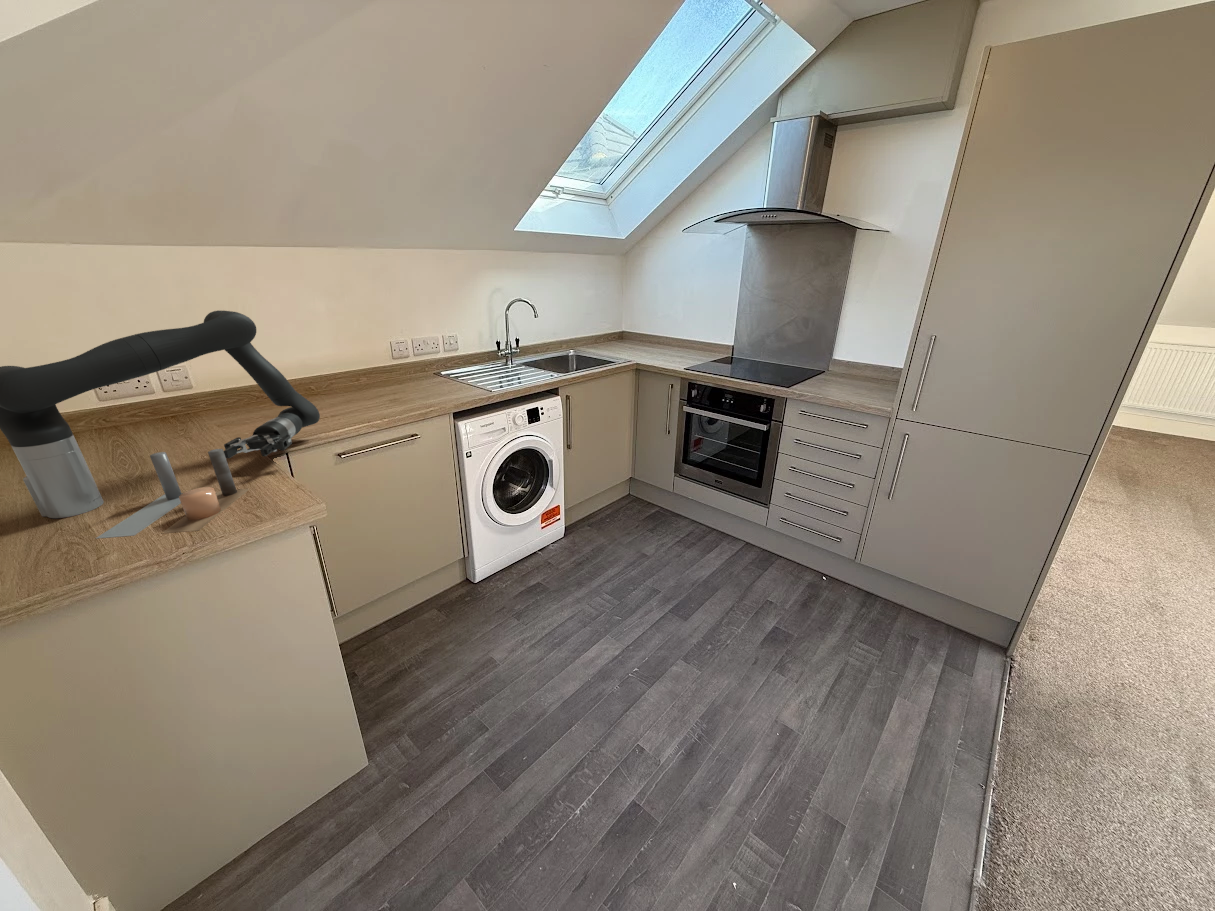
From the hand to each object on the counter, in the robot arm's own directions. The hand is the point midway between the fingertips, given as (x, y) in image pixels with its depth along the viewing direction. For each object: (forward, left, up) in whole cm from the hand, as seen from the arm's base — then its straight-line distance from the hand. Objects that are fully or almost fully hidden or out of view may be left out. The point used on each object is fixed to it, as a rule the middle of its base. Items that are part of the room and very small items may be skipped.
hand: (244, 454), depth 122 cm
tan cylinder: (0, -20, -6) cm, 21 cm away
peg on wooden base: (0, -18, -8) cm, 20 cm away
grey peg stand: (-12, -18, -8) cm, 23 cm away
